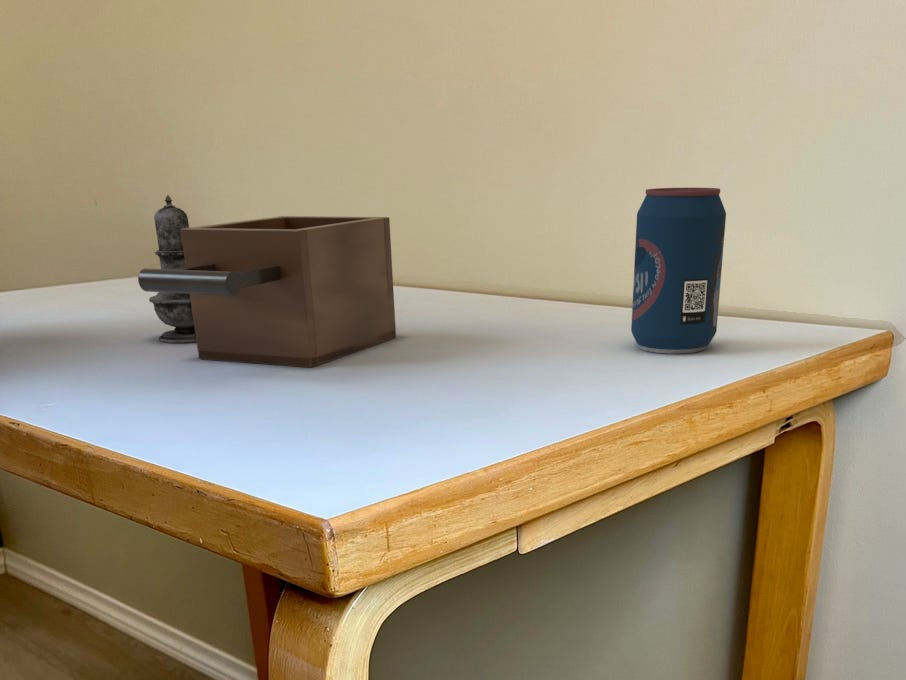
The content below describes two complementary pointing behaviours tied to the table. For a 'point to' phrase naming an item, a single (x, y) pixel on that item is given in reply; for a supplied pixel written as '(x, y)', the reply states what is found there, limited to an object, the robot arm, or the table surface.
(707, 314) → the soda can
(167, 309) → the salt shaker
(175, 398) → the table surface
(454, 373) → the table surface
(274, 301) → the wooden handled box
